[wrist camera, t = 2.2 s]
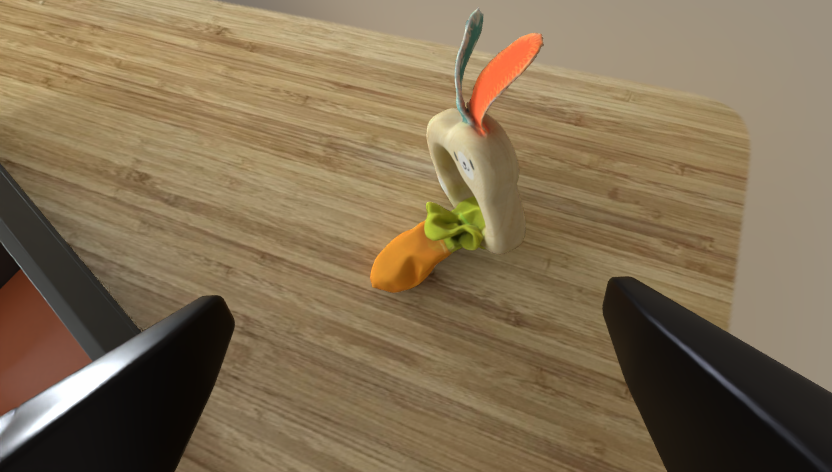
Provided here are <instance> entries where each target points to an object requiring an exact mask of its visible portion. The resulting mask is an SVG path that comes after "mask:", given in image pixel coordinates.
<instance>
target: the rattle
mask: <svg viewBox="0 0 832 472" xmlns="http://www.w3.org/2000/svg"><path fill="white" fill-rule="evenodd" d="M482 24H483V14H482V13H481V11H480V10H479V8H477V10H475V11H474V12H473V13H472V14H471V15H470V17H469V20H467V22H466V29H465V33H464V37H463V40H462V44H461V46H460V48H459V52H458V55H457V59H456V65H455V85H456V93H457V99H456V104H457V109H456V108H452V109H447V110H445V111H443V112H441V113H439V114H437V115H436V116H434V117H433V118H432V119H431V120H430V122H429V124H428V127H427V143H428V147H429V152H430V155H431V158H432V162H433V165H434V167H435V170H436V173H437V177H438V180H439V182H440V185H441V187H442V189H443V190H444V192H445V193H446V195H447V197H448V198H449V200H450V201H451V203H452V205H453V207H454V209H453V210H452V211H451V212H450V211H448V210H446V209H445V208H443V207H442V206H440V205H438V204H436V203H432V202H428V203H427V204H426V210H427V213H428V216H427V218H426V220H425V221H423V222H421V223H419V224H418V225H417V226H416V227H415V228H413V229H411V230H408V231H406V232H404V233H402V234H400V235H399V236H397V237H396V238H395V239H393V240H392V241H391V242H390V243H389V244H388V245H387V246H386V247H385V248H384V249H383V250H382V251H381V253H380V254H379V255H378V256H377V258H376V260H375V262H374V264H373V267H372V270H371V275H370V279H371V283H372V287H373V288H378V289H381V290H385V291H388V292H392V293H396V292H401V291H404V290H408V289H411V288H413V287H415V286H417V285H419V284H420V283H421V282H422V281H423V280H424V279H425V278H426V277H427V276H428V275H429V274H430V273H431V272H432V270H433V269H434V267H435V265H436V264H438V263H439V262H441V261H442V260H444V259H445V258H446V257H448V256H449V255H450V254H451V253H452V252H454V251H456V250H458V249H461V248H462V247H464V248H465V249H467V250H476V249H477V248H478V247H479V248H481V249H487V250H489V251H491V252H492V253H495V254H505V253H507V252H509V251H511V250H513V249H515V248H517V247H518V246H519V245H520V244H521V243H522V241H523V239H524V237H525V231H526V222H525V215H524V210H523V206H522V202H521V198H520V195H519V192H518V189H517V181H518V178H519V165H518V160H517V157H516V153H515V150H514V148H513V145H512V143H511V141H510V139H509V137H508V136H507V134H506V132H505V131H504V129H503V128H502V127H501V125H500V124H499V123H498V122H497V121H495V120H494V119H493V118H492V117H491V116H489V115H487V114H486V112H487V110H488V109H489V107H490V106H491V104H492V103H493V102H494V101H495V99H496V98H497V97H499V96H500V95H501V94H502V93H503V92H504V91H505V90H506V89H507V88H508V87H509V85H510V84H511V83H512V82H513V81H515V80H516V79H517V78H518V77H519V76H520V75H521V74H522V73H523V72H524V71H525V70H526V69H527V67H528V66H529V65H530V64H531V63H532V62H533V61H534V59H535V58H536V56H537V54H538V53H539V51H540V49H541V47H542V46H543V45H544V44H543V37H542V34H538V33H531V34H528V35H525V36H522V37H520V38H519V39H518V40H516V41H515V42H513V43H512V44H511V45H510V46H508V47H507V48H505V49H504V50H502V51H501V52H500V53H498V54H497V55H496V56H495V58H494V59H492V60H491V61H490V62H489V63H488V65H487V66H486V67H485V68H484V69H483V70H482V72H481V73H480V75H479V77H478V78H477V81H476V83H475V85H474V87H473V94H472V97H471V99H470V102H467V109H466V107H465V102H464V100H463V97H462V93H461V91H462V79H463V75H464V70H465V67H466V65H467V62H468V60H469V58H470V56H471V53H472V51H473V49H474V47H475V45H476V43H477V41H478V39H479V36H480V34H481V31H482Z"/></svg>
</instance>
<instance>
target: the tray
mask: <svg viewBox="0 0 832 472" xmlns="http://www.w3.org/2000/svg"><path fill="white" fill-rule="evenodd" d="M139 333H141V331H140V330H139V329H138V328H137V326H136V325H135V324H134V323H133V322H132V320H131V319H130V318H129V317H128V316H127V314H126V313H125V312H124V311H123V310H122V309H121V307H120V306H119V305H118V304H117V303H116V301H115V300H114V299H113V298H112V297H111V295H110V294H109V293H108V292H107V291H106V289H105V288H104V287H103V286H102V285H101V283H100V282H99V281H98V280H97V279H96V277H95V276H94V275H93V274H92V273H91V271H90V270H89V269H88V268H87V267H86V265H85V264H84V263H83V262H82V261H81V259H80V258H79V257H78V256H77V255H76V253H75V252H74V251H73V250H72V249H71V248H70V246H69V245H68V244H67V243H66V242H65V240H64V239H63V238H62V237H61V236H60V234H59V233H58V232H57V231H56V230H55V228H54V227H53V226H52V225H51V224H50V222H49V221H48V220H47V219H46V218H45V216H44V215H43V214H42V213H41V212H40V210H39V209H38V208H37V207H36V206H35V204H34V203H33V202H32V201H31V200H30V198H29V197H28V196H27V195H26V194H25V192H24V191H23V190H22V189H21V188H20V187H19V185H18V184H17V183H16V182H15V181H14V179H13V178H12V177H11V176H10V175H9V173H8V172H7V171H6V170H5V169H4V167H3V166H2V165H1V164H0V416H2V415H3V414H5V413H7V412H8V411H10V410H12V409H13V408H15V407H19V406H20V405H21V404H22V403H24V402H25V401H27V400H29V399H30V398H32V397H34V396H35V395H37V394H39V393H40V392H42V391H44V390H46V389H47V388H49V387H51V386H52V385H54V384H56V383H57V382H59V381H61V380H62V379H64V378H66V377H67V376H69V375H71V374H72V373H74V372H76V371H77V370H79V369H81V368H82V367H84V366H86V365H87V364H89V363H91V362H92V361H94V360H96V359H97V358H99V357H101V356H103V355H104V354H106V353H108V352H109V351H111V350H113V349H114V348H116V347H118V346H119V345H121V344H123V343H124V342H126V341H128V340H129V339H131V338H133V337H134V336H136V335H138V334H139Z"/></svg>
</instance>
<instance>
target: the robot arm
mask: <svg viewBox="0 0 832 472" xmlns="http://www.w3.org/2000/svg"><path fill="white" fill-rule="evenodd" d="M602 309H603V316H604V319H605V322H606V325H607V328H608V331H609V334H610V337H611V340H612V343H613V346H614V349H615V352H616V355H617V358H618V361H619V364H620V367H621V370H622V373H623V375H624V378H625V381H626V383H627V385H628V388H629V390H630V392H631V395H632V397H633V399H634V401H635V403H636V405H637V407H638V410H639V412H640V414H641V416H642V418H643V420H644V423H645V425H646V427H647V429H648V431H649V433H650V436H651V438H652V440H653V442H654V444H655V446H656V448H657V451H658V453H659V455H660V457H661V459H662V461H663V464H664V466H665V468H666V470H667V472H832V393H831V392H829V391H827V390H826V389H824V388H822V387H821V386H819V385H817V384H815V383H814V382H812V381H810V380H808V379H807V378H805V377H803V376H802V375H800V374H798V373H796V372H795V371H793V370H791V369H790V368H788V367H786V366H784V365H783V364H781V363H779V362H777V361H776V360H774V359H772V358H770V357H769V356H767V355H765V354H764V353H762V352H760V351H759V350H757V349H755V348H754V347H752V346H750V345H748V344H747V343H745V342H743V341H741V340H740V339H738V338H736V337H735V336H733V335H731V334H729V333H728V332H726V331H724V330H723V329H721V328H719V327H717V326H716V325H714V324H712V323H711V322H709V321H707V320H705V319H704V318H702V317H700V316H698V315H697V314H695V313H693V312H692V311H690V310H688V309H686V308H685V307H683V306H681V305H680V304H678V303H676V302H674V301H673V300H671V299H669V298H668V297H666V296H664V295H662V294H661V293H659V292H657V291H655V290H654V289H652V288H650V287H649V286H647V285H645V284H643V283H642V282H640V281H638V280H637V279H635V278H633V277H629V276H625V277H612V278H610V279H609V281H608V284H607V288H606V293H605V297H604V301H603V308H602ZM234 327H235V321H234V318H233V316H232V314H231V312H230V310H229V308H228V306H227V304H226V302H225V301H224V299H223V298H222V297H221V296H218V295H210V296H202V297H200V298H198V299H196V300H195V301H193V302H191V303H190V304H188V305H186V306H185V307H183V308H181V309H180V310H178V311H176V312H175V313H173V314H171V315H170V316H168V317H166V318H165V319H163V320H161V321H160V322H158V323H156V324H154V325H153V326H151V327H149V328H148V329H146V330H144V331H143V332H141V333H139V334H138V335H136V336H134V337H133V338H131V339H129V340H128V341H126V342H124V343H123V344H121V345H119V346H118V347H116V348H114V349H113V350H111V351H109V352H108V353H106V354H104V355H103V356H101V357H99V358H97V359H96V360H94V361H92V362H91V363H89V364H87V365H86V366H84V367H82V368H81V369H79V370H77V371H76V372H74V373H72V374H71V375H69V376H67V377H66V378H64V379H62V380H61V381H59V382H57V383H56V384H54V385H52V386H51V387H49V388H47V389H46V390H44V391H42V392H40V393H39V394H37V395H35V396H34V397H32V398H30V399H29V400H27V401H25V402H24V403H22V404H21V405H20V406H19V407H15V408H13V409H12V410H10V411H8V412H7V413H5V414H3V415H2V416H0V472H175V470H176V468H177V466H178V464H179V462H180V459H181V457H182V455H183V453H184V451H185V449H186V446H187V444H188V442H189V440H190V438H191V436H192V433H193V431H194V429H195V427H196V425H197V423H198V420H199V418H200V416H201V414H202V412H203V410H204V407H205V405H206V403H207V401H208V399H209V397H210V394H211V392H212V390H213V387H214V385H215V382H216V380H217V377H218V374H219V371H220V368H221V365H222V363H223V360H224V357H225V354H226V351H227V348H228V345H229V343H230V340H231V337H232V334H233V331H234Z"/></svg>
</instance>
